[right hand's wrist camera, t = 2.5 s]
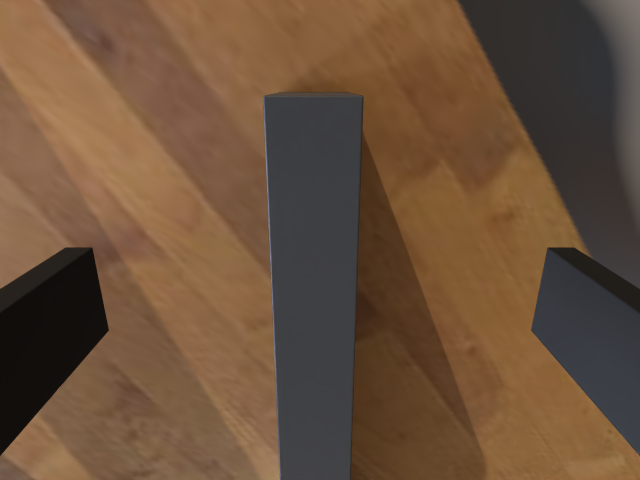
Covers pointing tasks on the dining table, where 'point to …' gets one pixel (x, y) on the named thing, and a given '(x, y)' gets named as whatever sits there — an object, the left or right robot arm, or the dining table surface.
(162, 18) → the dining table surface
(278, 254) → the beam
